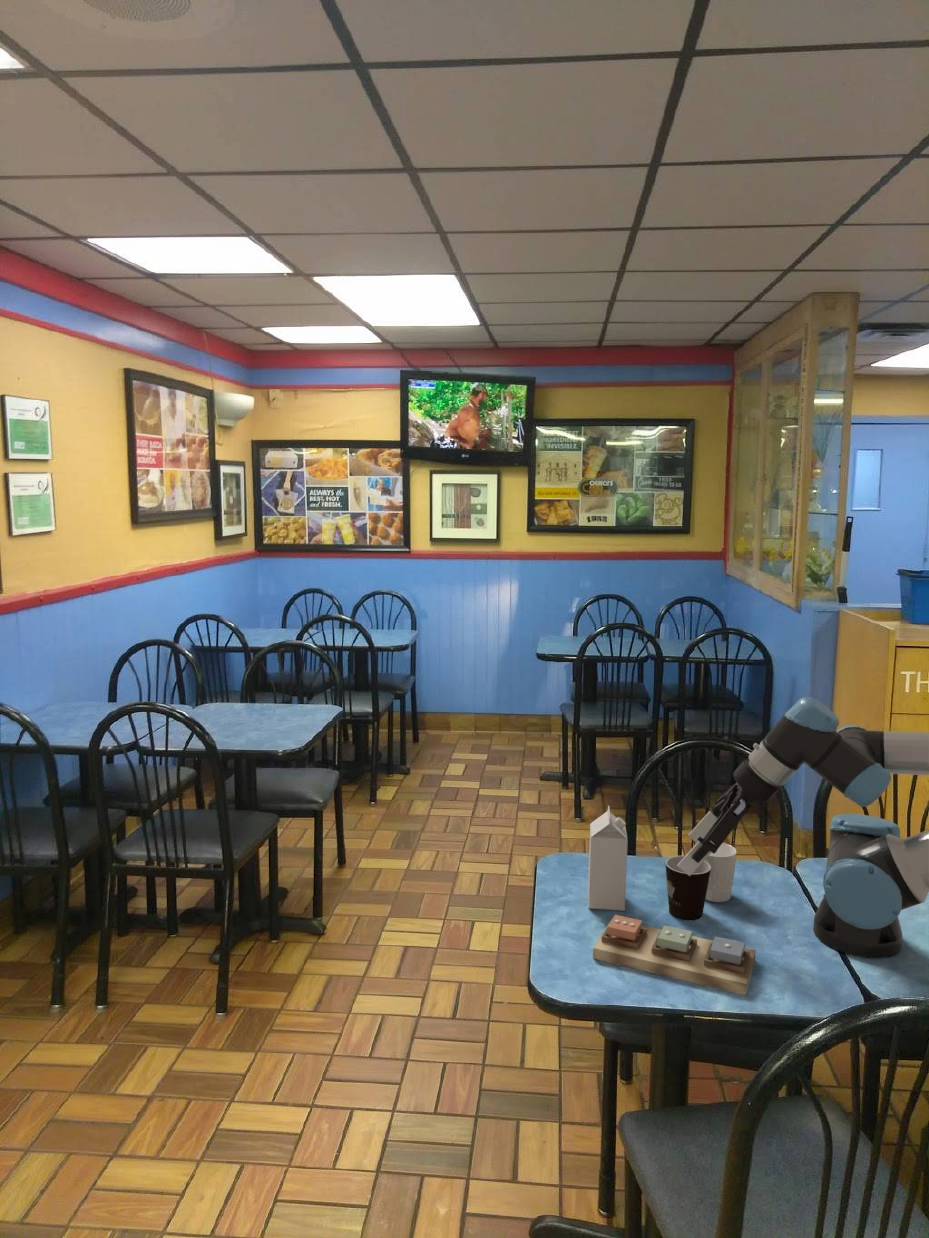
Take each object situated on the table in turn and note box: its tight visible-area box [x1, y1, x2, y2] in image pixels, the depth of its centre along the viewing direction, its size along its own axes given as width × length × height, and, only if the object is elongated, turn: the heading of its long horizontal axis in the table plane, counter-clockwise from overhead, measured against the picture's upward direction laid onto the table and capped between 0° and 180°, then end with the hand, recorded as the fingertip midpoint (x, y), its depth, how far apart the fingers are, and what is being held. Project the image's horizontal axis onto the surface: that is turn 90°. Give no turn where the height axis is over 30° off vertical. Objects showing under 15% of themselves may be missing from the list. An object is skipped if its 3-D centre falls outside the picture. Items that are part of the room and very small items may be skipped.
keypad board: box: [592, 918, 757, 996], centre depth 155 cm, size 26×12×3 cm, turn 65°
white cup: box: [705, 841, 737, 903], centre depth 180 cm, size 8×8×10 cm
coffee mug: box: [664, 855, 711, 922], centre depth 174 cm, size 12×9×10 cm
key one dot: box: [710, 936, 746, 965], centre depth 151 cm, size 5×5×2 cm
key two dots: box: [657, 925, 693, 952], centre depth 155 cm, size 5×5×2 cm
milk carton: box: [587, 805, 629, 912], centre depth 176 cm, size 7×7×19 cm
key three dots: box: [607, 914, 643, 941], centre depth 159 cm, size 5×5×2 cm
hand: (689, 854), depth 162 cm, fingers open, 13 cm apart
